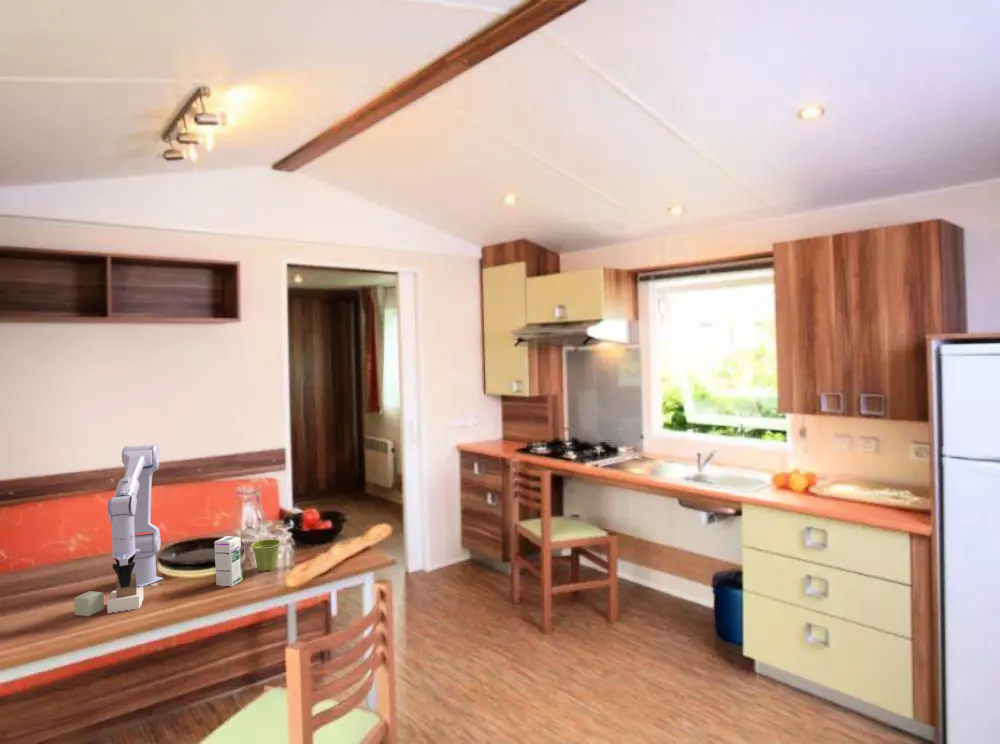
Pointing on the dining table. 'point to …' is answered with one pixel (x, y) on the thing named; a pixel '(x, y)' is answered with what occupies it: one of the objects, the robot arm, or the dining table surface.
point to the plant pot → (266, 554)
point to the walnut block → (126, 590)
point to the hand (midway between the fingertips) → (125, 582)
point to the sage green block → (89, 603)
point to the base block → (125, 601)
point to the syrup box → (228, 561)
